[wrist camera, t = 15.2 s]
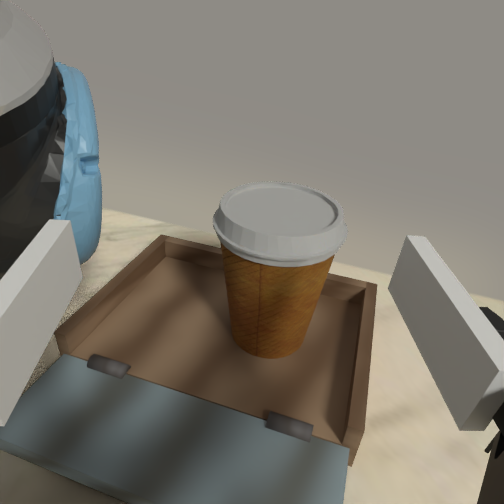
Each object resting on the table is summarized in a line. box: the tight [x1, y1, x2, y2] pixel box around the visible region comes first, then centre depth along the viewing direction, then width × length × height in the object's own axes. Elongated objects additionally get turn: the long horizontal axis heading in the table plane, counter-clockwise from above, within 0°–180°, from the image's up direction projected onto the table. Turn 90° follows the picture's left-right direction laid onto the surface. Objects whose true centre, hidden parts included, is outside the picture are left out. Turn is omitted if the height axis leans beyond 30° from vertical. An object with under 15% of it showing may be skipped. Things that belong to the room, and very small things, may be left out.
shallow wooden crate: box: [0, 235, 377, 504], centre depth 31 cm, size 23×23×4 cm
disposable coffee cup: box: [213, 182, 348, 359], centre depth 30 cm, size 10×10×12 cm
